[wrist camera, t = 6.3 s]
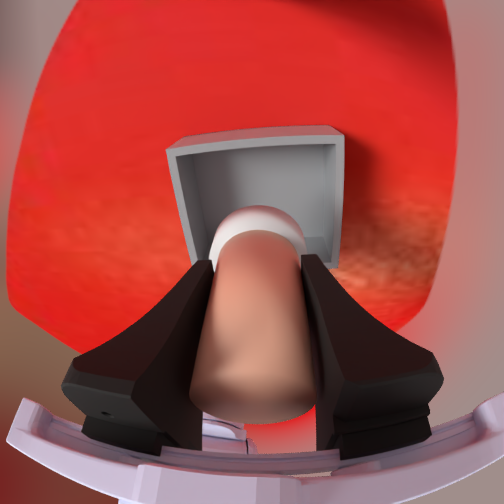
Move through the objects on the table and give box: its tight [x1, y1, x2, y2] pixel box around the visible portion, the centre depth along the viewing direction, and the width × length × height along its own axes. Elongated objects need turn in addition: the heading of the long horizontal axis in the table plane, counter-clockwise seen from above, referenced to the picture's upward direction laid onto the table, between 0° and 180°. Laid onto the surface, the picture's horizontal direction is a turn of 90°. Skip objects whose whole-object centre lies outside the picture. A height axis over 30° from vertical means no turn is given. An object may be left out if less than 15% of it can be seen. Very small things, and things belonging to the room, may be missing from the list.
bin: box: [166, 125, 344, 269], centre depth 18 cm, size 9×10×4 cm
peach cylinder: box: [189, 205, 317, 424], centre depth 10 cm, size 4×4×8 cm
